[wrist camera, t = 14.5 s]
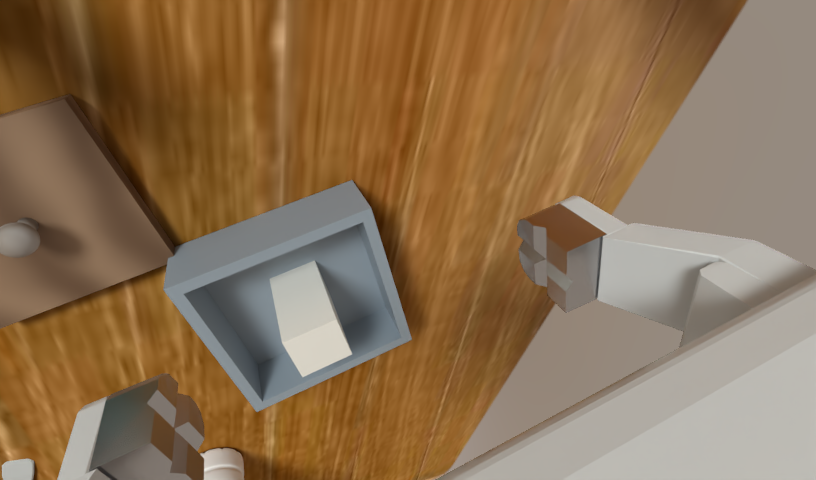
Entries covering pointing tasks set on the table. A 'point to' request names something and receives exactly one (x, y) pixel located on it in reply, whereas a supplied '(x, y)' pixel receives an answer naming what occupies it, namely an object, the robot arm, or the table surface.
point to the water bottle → (223, 464)
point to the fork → (18, 470)
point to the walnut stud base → (66, 213)
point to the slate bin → (253, 300)
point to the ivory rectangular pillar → (308, 319)
